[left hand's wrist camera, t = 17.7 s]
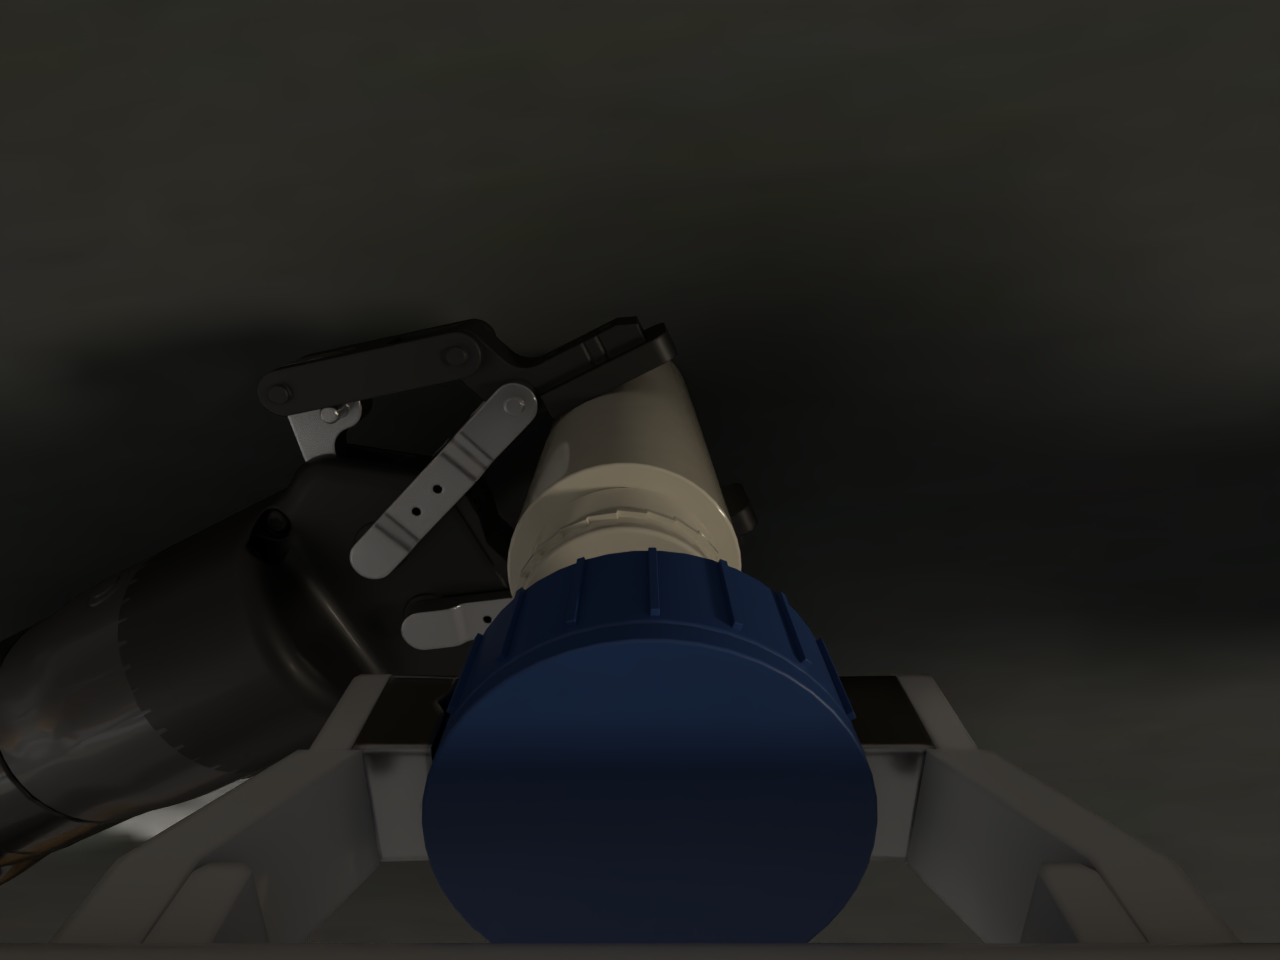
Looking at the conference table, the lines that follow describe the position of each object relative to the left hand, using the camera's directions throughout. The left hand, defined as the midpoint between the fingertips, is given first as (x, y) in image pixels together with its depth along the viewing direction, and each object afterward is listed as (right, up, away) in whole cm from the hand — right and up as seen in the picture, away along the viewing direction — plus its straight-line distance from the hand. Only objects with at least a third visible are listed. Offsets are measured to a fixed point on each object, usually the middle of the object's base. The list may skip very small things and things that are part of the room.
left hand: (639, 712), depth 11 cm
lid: (0, -1, -2) cm, 2 cm away
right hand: (+2, +5, +10) cm, 11 cm away
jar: (0, +6, +16) cm, 18 cm away
